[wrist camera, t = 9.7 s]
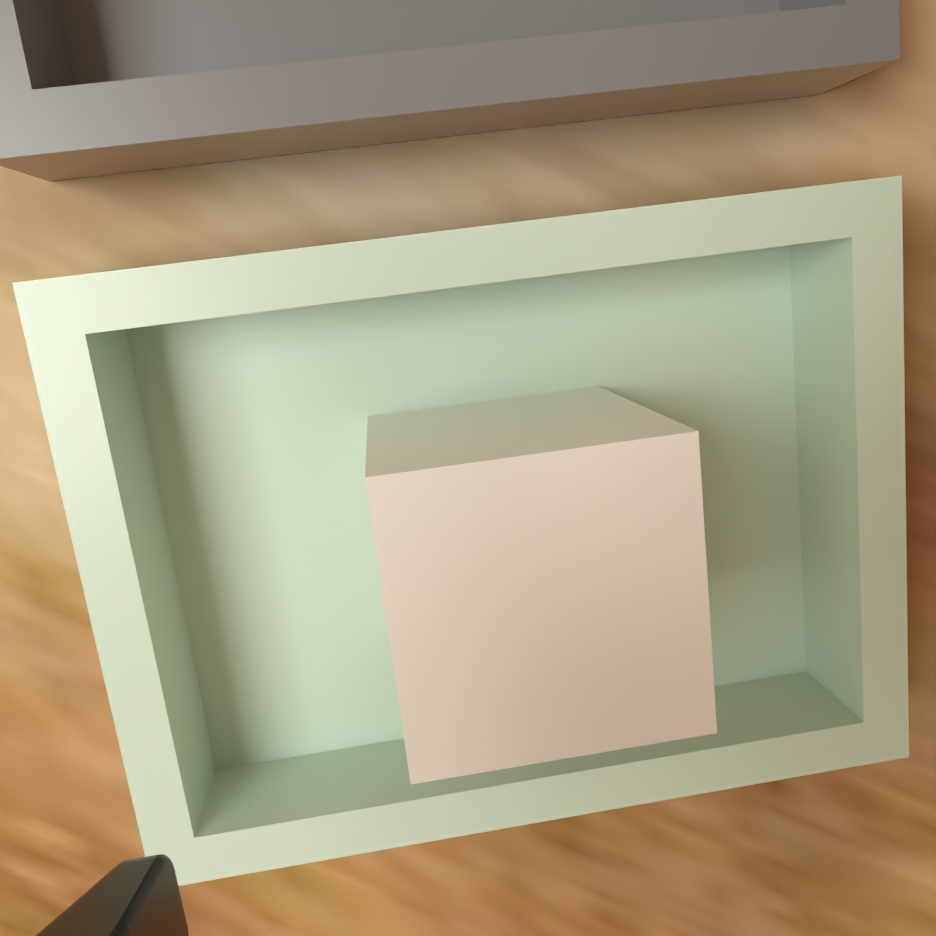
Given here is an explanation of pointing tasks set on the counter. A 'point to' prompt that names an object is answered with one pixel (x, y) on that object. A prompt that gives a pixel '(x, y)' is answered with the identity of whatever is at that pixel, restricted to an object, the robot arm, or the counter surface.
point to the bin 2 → (451, 383)
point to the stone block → (541, 579)
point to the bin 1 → (391, 70)
